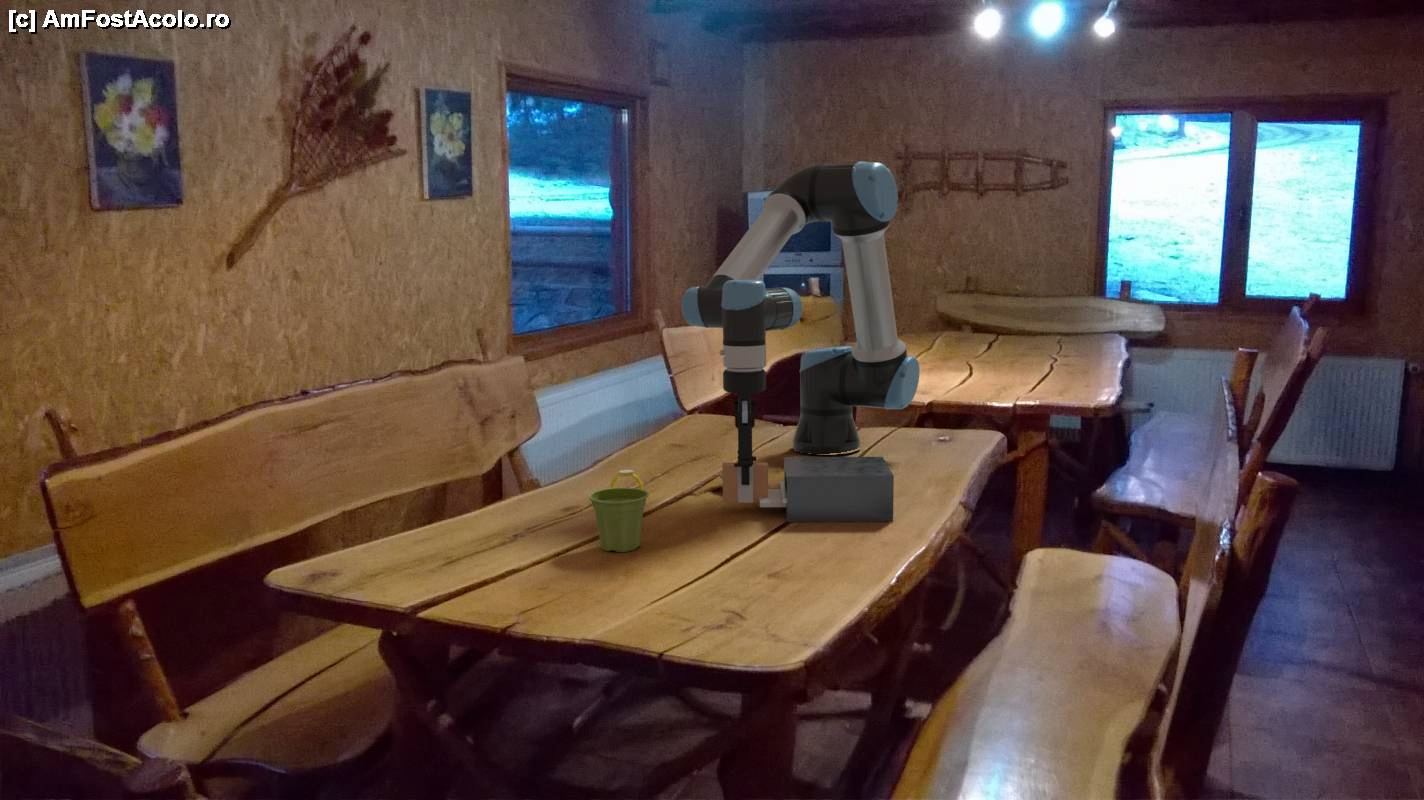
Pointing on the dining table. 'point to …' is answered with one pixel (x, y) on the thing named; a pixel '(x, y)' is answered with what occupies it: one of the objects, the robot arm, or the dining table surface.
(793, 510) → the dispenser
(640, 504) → the plant pot
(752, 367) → the robot arm
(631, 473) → the watch
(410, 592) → the dining table surface
